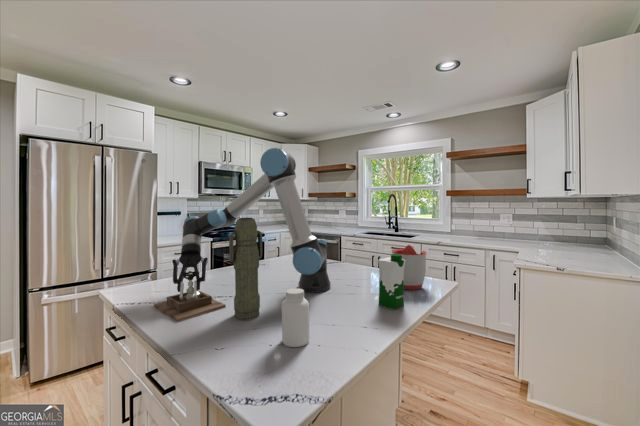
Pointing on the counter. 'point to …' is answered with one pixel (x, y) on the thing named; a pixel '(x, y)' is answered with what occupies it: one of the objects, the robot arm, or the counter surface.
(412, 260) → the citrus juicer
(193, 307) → the dock board
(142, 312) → the counter surface
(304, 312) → the pill bottle
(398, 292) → the milk carton
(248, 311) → the thermos
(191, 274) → the valve
